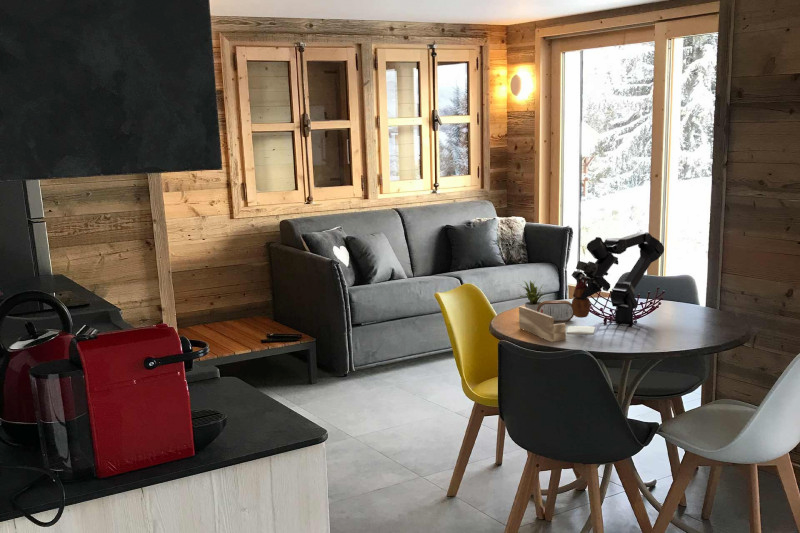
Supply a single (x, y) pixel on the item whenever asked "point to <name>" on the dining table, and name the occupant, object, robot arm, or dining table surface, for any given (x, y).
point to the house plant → (532, 296)
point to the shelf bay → (541, 325)
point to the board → (580, 330)
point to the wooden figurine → (580, 301)
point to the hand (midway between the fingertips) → (577, 297)
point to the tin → (557, 310)
